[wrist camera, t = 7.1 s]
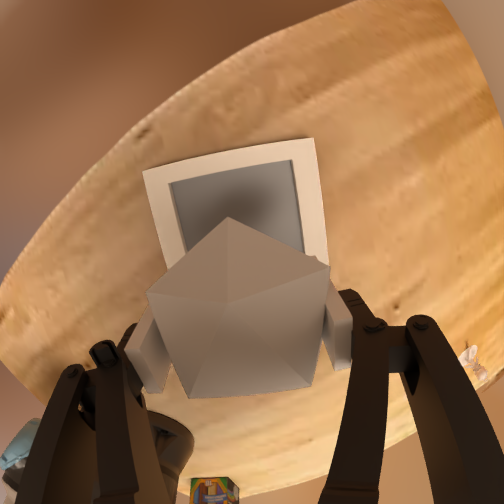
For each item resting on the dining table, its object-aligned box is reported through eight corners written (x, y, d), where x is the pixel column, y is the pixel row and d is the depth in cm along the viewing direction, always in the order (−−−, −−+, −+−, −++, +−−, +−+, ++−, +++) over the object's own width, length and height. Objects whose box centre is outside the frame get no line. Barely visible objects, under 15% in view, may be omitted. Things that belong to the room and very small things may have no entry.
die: (208, 183, 16) (79, 303, 10) (364, 207, 12) (276, 415, 6) (233, 283, 21) (154, 388, 15) (347, 316, 17) (285, 456, 11)
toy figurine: (457, 371, 39) (475, 396, 32) (453, 348, 37) (475, 375, 30) (477, 355, 38) (497, 378, 31) (475, 330, 36) (499, 354, 29)
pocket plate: (186, 309, 32) (183, 318, 30) (148, 169, 26) (142, 171, 24) (325, 285, 31) (330, 294, 29) (308, 138, 26) (313, 137, 24)
